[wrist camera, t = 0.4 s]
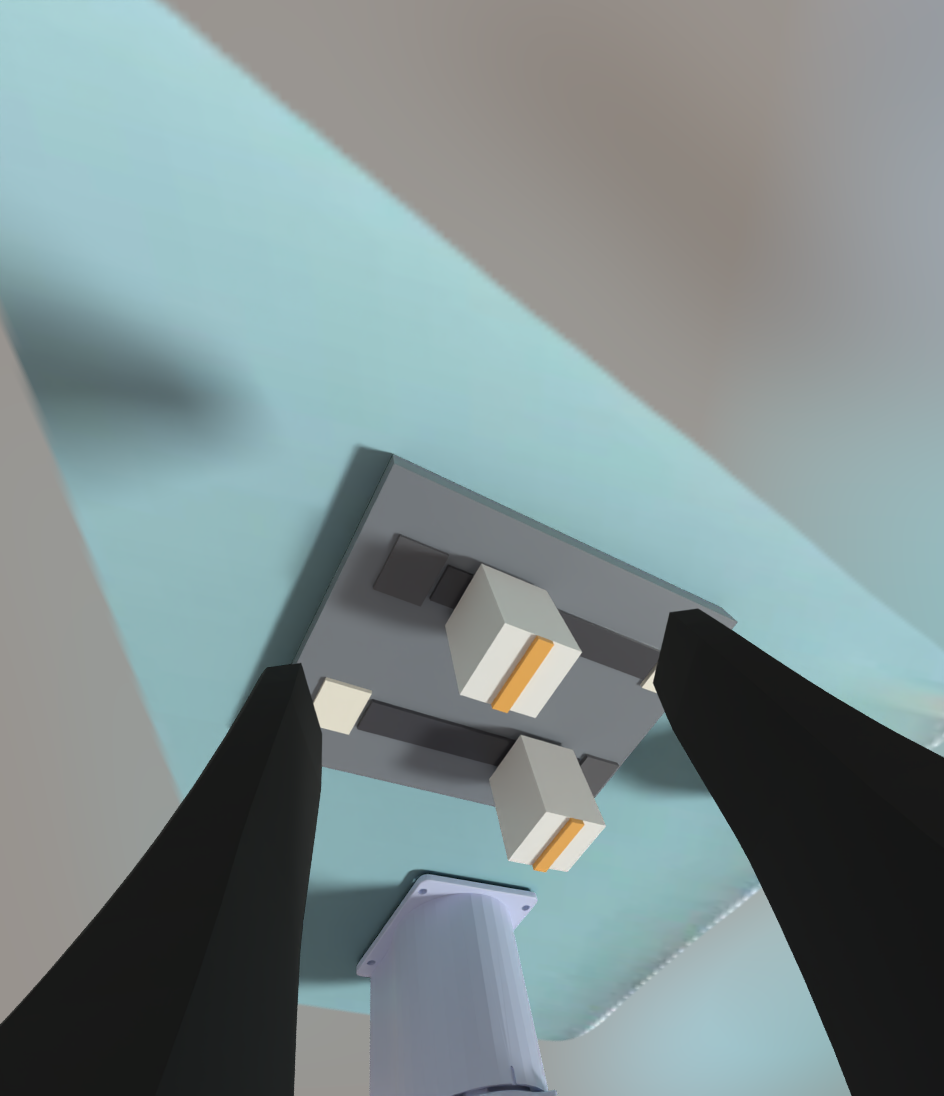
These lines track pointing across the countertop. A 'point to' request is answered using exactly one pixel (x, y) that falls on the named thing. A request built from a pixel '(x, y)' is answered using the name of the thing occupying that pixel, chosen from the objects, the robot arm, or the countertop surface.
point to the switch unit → (424, 654)
